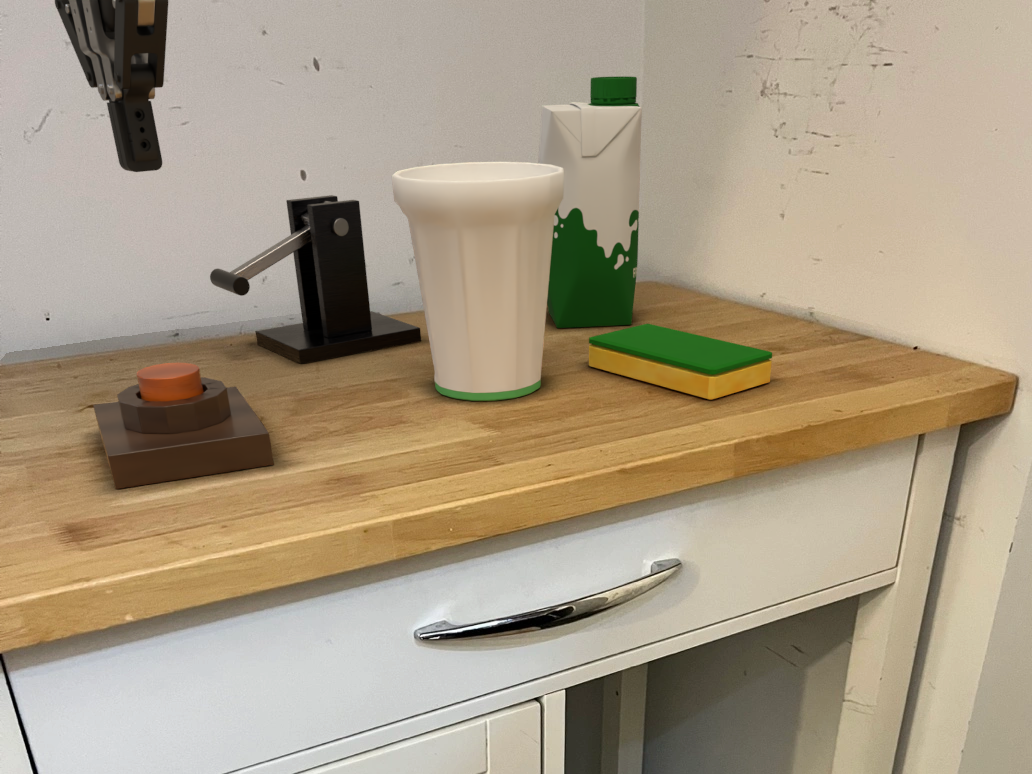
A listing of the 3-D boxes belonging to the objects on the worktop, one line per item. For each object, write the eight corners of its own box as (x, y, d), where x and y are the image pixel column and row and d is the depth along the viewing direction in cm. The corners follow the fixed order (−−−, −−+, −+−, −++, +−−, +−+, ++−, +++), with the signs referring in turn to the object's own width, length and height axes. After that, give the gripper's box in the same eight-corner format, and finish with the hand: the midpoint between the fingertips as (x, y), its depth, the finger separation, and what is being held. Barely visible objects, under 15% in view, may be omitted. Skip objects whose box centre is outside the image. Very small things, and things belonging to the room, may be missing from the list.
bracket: (300, 364, 93) (280, 213, 87) (257, 344, 99) (234, 202, 93) (421, 341, 99) (410, 198, 93) (373, 323, 105) (359, 188, 99)
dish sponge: (646, 351, 94) (647, 322, 93) (772, 383, 85) (775, 351, 84) (586, 366, 90) (586, 336, 89) (710, 401, 82) (712, 368, 80)
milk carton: (643, 327, 102) (650, 78, 91) (546, 331, 101) (542, 81, 90) (626, 306, 109) (631, 74, 98) (536, 310, 108) (531, 77, 98)
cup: (475, 357, 94) (464, 158, 85) (597, 378, 87) (598, 165, 79) (376, 393, 85) (354, 176, 77) (503, 419, 79) (494, 185, 71)
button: (138, 393, 74) (133, 366, 73) (199, 385, 75) (194, 359, 74) (145, 409, 71) (139, 381, 70) (208, 400, 72) (203, 373, 71)
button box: (100, 435, 78) (86, 378, 76) (241, 415, 81) (231, 360, 79) (115, 489, 68) (100, 426, 66) (274, 465, 72) (264, 404, 70)
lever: (241, 304, 90) (227, 277, 88) (218, 294, 93) (203, 268, 92) (357, 232, 93) (345, 204, 92) (330, 225, 97) (318, 198, 95)
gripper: (-34, -178, 61) (49, 168, 70) (32, -221, 52) (117, 184, 61) (100, -170, 64) (163, 159, 74) (184, -208, 55) (243, 172, 65)
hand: (142, 169), depth 67 cm, fingers closed
